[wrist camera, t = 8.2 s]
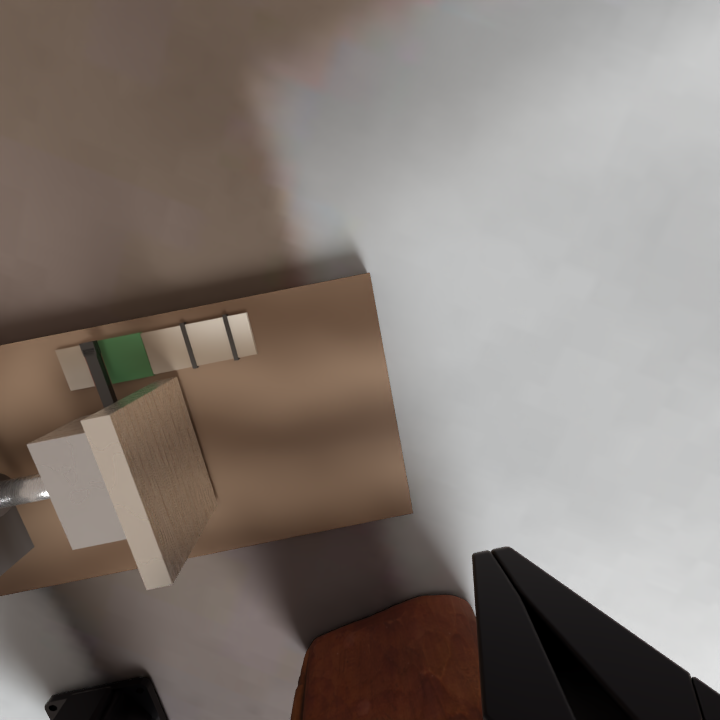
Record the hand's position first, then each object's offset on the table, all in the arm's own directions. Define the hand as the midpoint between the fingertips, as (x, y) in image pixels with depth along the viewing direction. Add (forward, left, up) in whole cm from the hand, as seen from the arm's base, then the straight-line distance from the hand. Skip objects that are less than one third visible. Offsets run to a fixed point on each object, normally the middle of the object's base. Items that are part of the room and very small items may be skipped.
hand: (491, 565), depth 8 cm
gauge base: (0, +13, -12) cm, 17 cm away
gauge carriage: (+2, +15, -10) cm, 18 cm away
